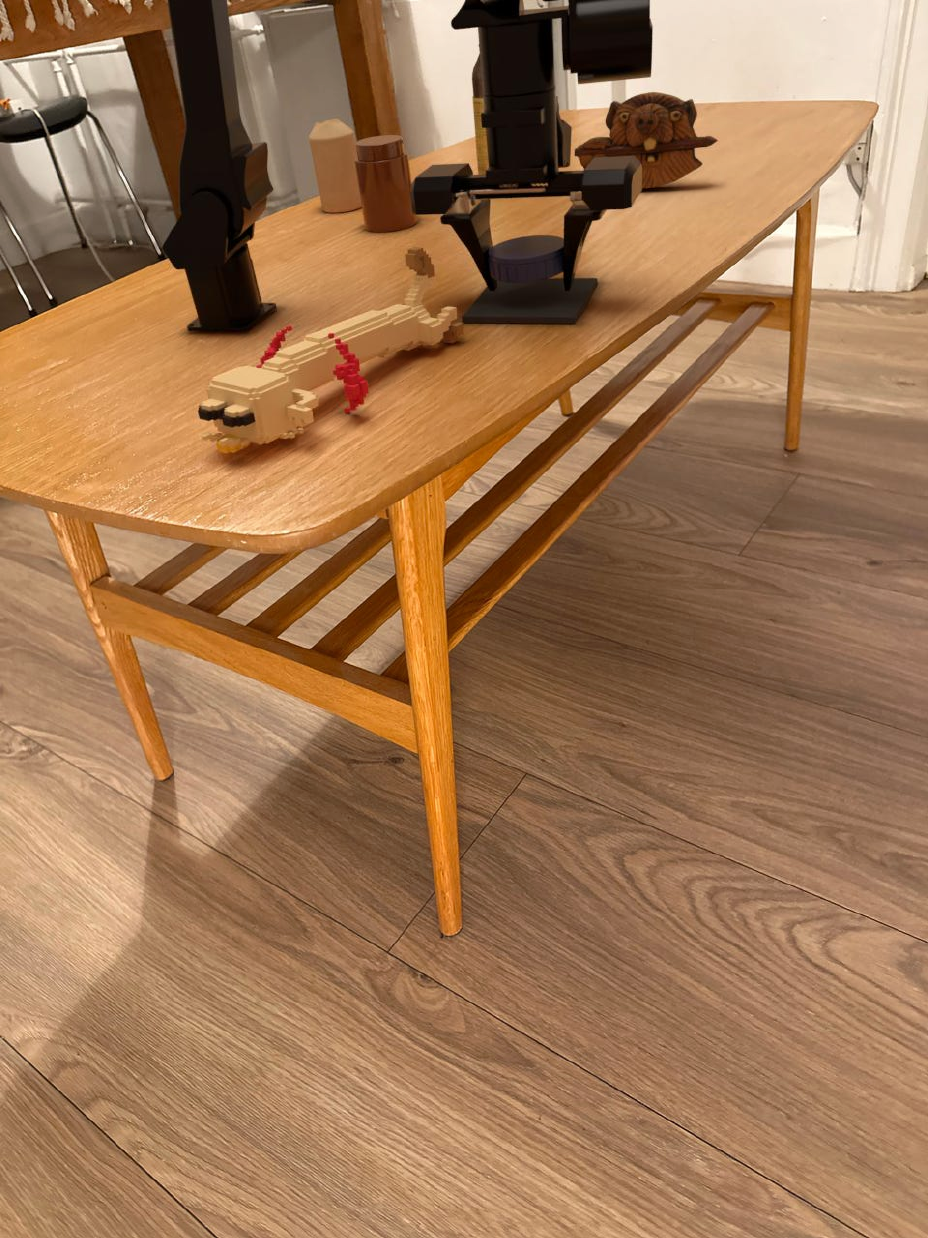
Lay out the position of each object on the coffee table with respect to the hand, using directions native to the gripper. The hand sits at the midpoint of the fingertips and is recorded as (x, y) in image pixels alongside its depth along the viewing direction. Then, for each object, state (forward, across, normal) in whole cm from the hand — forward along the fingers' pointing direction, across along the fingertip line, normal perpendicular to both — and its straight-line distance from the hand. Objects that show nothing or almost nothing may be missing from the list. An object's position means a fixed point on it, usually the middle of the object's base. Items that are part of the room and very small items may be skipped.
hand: (530, 289), depth 81 cm
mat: (+1, 0, 0) cm, 1 cm away
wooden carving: (+1, -4, -39) cm, 39 cm away
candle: (+1, +34, -35) cm, 49 cm away
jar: (+1, +24, -26) cm, 36 cm away
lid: (-3, 0, 0) cm, 3 cm away
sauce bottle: (+1, +14, -41) cm, 43 cm away
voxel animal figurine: (+1, +10, +20) cm, 22 cm away
